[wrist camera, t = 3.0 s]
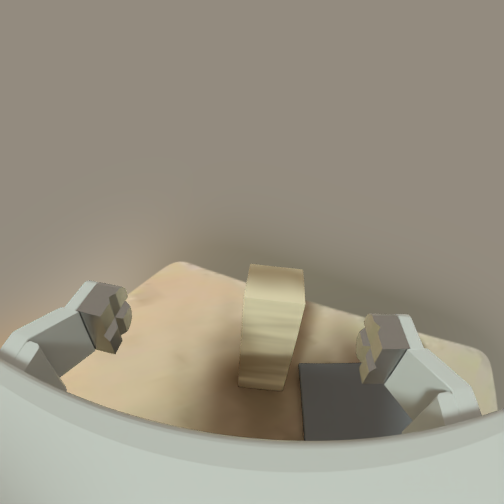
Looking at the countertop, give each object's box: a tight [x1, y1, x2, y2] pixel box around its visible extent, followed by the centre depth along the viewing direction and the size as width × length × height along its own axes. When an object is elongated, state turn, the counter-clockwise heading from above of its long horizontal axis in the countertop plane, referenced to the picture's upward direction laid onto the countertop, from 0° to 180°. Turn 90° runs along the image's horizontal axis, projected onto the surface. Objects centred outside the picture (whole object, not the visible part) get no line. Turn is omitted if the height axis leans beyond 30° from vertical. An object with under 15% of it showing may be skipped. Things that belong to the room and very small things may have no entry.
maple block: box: [238, 264, 305, 391], centre depth 26 cm, size 4×4×12 cm
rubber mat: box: [299, 363, 412, 441], centre depth 22 cm, size 18×14×1 cm
